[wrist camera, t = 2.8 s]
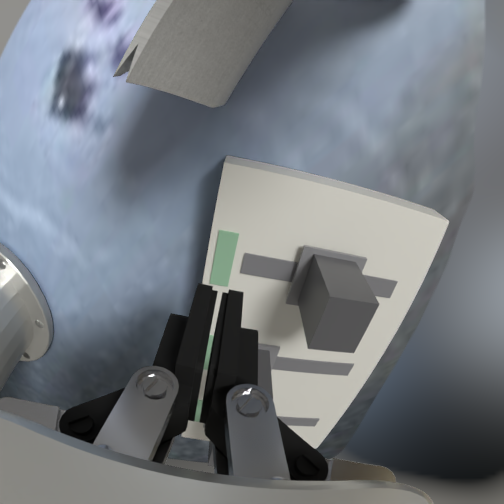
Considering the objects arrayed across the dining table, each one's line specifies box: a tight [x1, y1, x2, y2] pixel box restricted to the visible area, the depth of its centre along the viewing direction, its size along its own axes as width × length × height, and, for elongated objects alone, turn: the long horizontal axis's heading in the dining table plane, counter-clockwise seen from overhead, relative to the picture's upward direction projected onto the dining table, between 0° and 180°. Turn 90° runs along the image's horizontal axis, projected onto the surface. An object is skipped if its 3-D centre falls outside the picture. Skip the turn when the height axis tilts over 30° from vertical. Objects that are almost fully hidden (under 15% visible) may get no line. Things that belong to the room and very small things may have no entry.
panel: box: [182, 155, 449, 448], centre depth 21 cm, size 24×13×2 cm, turn 168°
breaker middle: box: [258, 343, 280, 399], centre depth 18 cm, size 4×4×4 cm
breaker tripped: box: [285, 245, 379, 353], centre depth 15 cm, size 4×4×4 cm
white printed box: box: [113, 0, 293, 108], centre depth 9 cm, size 4×7×10 cm, turn 150°
